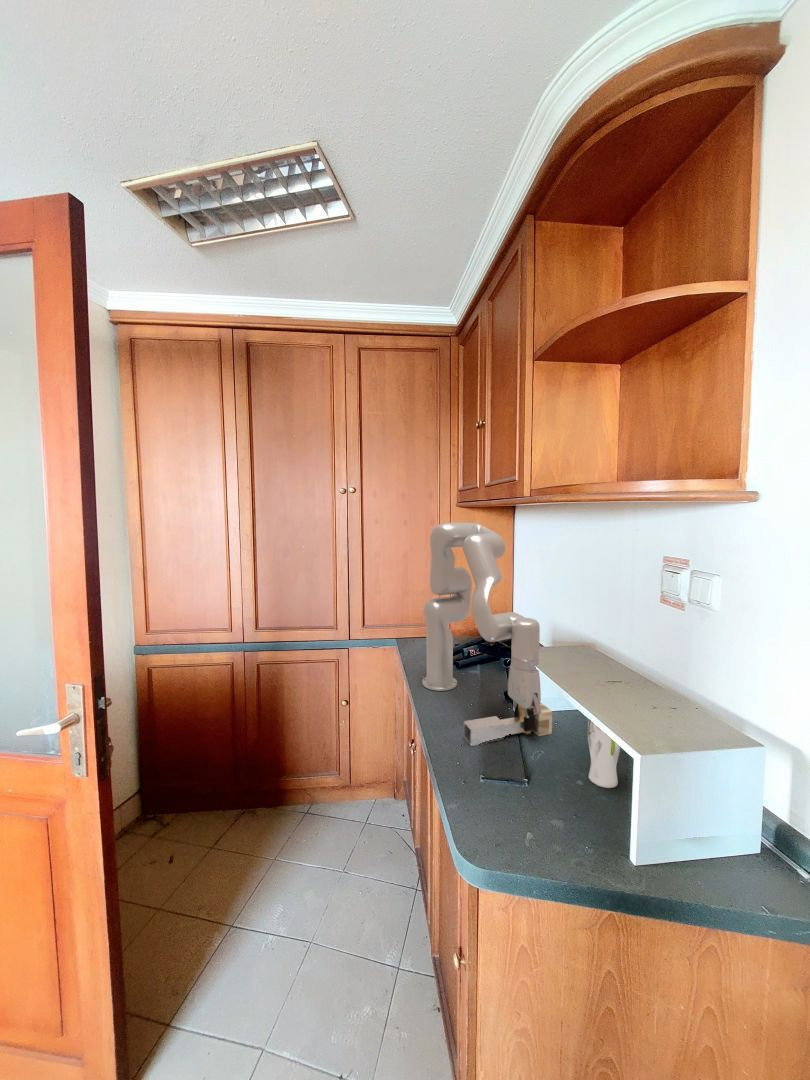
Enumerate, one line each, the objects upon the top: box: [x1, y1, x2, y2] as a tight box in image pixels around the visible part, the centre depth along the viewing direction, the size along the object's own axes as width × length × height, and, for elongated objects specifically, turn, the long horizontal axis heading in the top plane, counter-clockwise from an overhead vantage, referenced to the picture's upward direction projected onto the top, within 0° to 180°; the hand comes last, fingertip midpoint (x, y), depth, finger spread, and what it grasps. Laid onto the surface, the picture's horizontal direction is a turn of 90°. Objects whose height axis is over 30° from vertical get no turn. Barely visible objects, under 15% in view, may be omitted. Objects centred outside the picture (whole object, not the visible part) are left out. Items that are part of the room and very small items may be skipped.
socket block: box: [530, 702, 553, 737], centre depth 118 cm, size 6×4×6 cm
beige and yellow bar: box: [500, 704, 537, 736], centre depth 116 cm, size 4×16×7 cm, turn 107°
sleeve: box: [463, 715, 506, 747], centre depth 113 cm, size 5×10×5 cm, turn 107°
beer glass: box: [587, 718, 621, 789], centre depth 95 cm, size 7×7×15 cm
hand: (524, 725), depth 117 cm, fingers closed on beige and yellow bar, 4 cm apart
